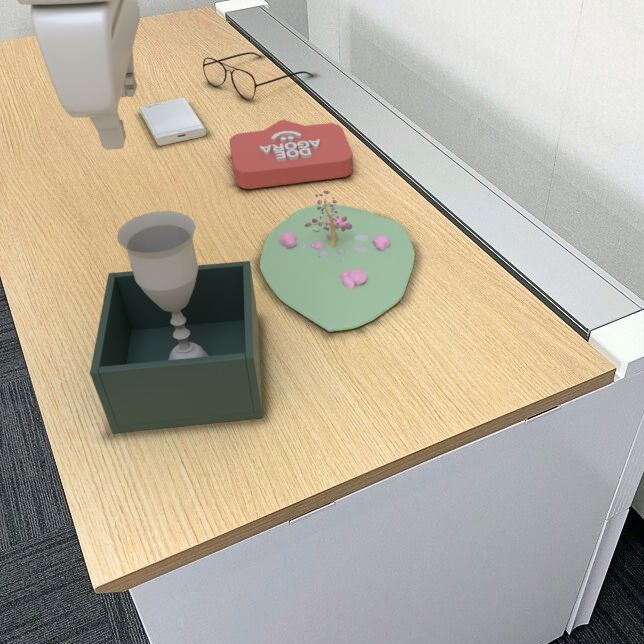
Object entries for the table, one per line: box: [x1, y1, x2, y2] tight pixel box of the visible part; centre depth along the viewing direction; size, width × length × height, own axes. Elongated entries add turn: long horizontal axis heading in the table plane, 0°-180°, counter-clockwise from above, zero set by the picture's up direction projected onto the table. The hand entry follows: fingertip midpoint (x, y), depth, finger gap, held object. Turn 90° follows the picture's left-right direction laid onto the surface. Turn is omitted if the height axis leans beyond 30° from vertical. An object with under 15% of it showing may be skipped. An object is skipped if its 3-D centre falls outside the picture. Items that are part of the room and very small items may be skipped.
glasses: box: [202, 51, 314, 101], centre depth 137 cm, size 14×15×5 cm
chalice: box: [116, 210, 209, 360], centre depth 76 cm, size 7×7×18 cm
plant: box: [259, 190, 416, 333], centre depth 93 cm, size 25×21×9 cm
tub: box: [89, 260, 264, 434], centre depth 79 cm, size 16×16×9 cm
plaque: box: [228, 119, 354, 190], centre depth 114 cm, size 18×4×15 cm
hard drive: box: [139, 97, 207, 147], centre depth 124 cm, size 2×8×12 cm
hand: (121, 117), depth 63 cm, fingers open, 8 cm apart
